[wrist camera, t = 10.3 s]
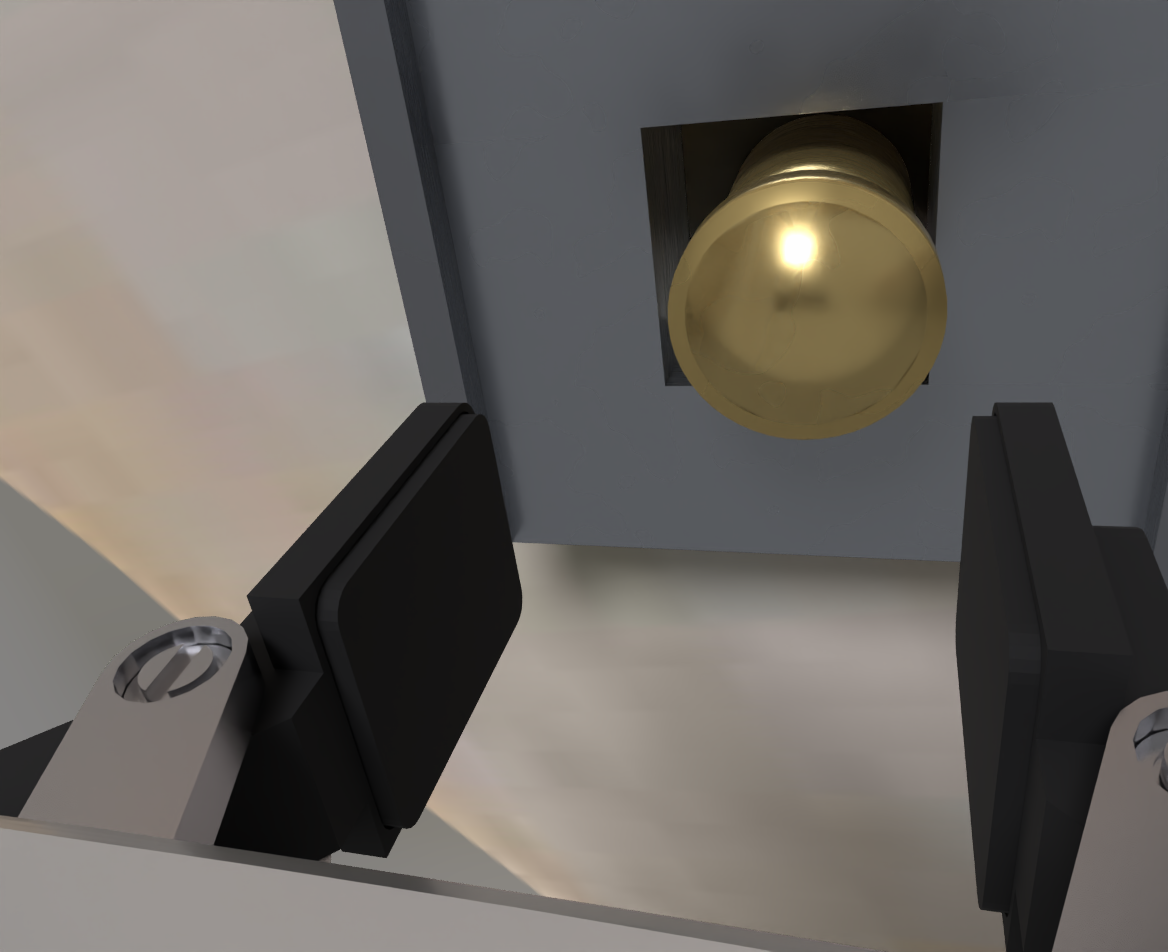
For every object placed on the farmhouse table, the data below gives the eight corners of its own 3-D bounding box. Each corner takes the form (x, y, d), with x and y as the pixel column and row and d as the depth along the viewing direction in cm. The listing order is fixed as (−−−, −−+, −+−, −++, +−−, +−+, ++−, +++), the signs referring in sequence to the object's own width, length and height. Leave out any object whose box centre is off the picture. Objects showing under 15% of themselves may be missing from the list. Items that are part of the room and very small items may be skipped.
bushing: (713, 108, 22) (657, 190, 16) (931, 91, 20) (957, 173, 15) (723, 303, 24) (677, 438, 18) (920, 298, 23) (938, 441, 17)
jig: (423, -95, 21) (312, -90, 17) (1277, -236, 16) (1402, -275, 12) (524, 463, 28) (462, 560, 24) (1147, 474, 23) (1201, 598, 19)
